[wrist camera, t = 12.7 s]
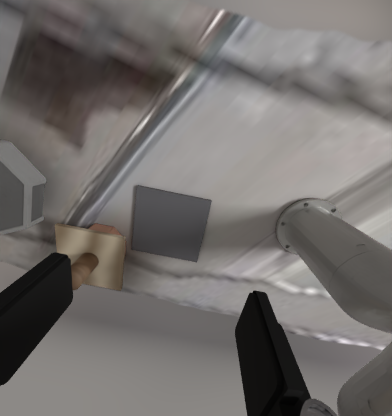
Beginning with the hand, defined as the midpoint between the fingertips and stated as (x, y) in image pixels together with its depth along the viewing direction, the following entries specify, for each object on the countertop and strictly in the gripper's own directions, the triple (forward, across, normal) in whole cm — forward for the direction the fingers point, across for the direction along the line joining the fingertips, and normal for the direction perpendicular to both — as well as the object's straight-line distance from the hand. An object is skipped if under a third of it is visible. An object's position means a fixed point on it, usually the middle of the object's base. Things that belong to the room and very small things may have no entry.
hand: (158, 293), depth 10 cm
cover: (+23, +17, +19) cm, 34 cm away
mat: (+28, +3, +11) cm, 31 cm away
